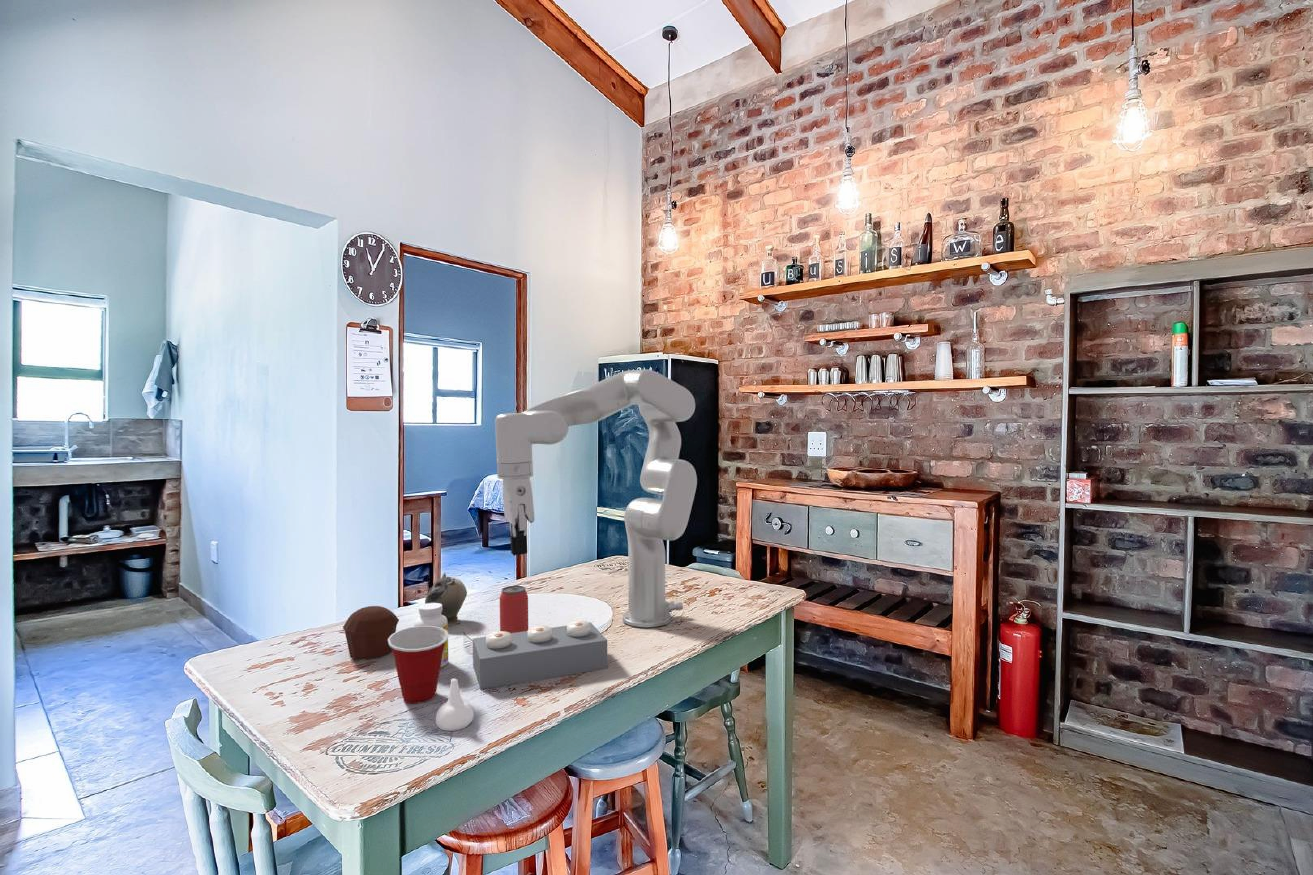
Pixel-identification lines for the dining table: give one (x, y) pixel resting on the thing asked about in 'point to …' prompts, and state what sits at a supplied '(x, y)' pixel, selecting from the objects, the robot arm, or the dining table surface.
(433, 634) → the plastic cup
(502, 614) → the beer can
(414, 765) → the dining table surface
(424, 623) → the supplement bottle
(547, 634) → the knob middle
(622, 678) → the dining table surface
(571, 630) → the knob
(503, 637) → the knob
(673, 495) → the robot arm
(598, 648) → the console
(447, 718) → the garlic bulb
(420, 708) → the dining table surface
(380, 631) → the muffin
